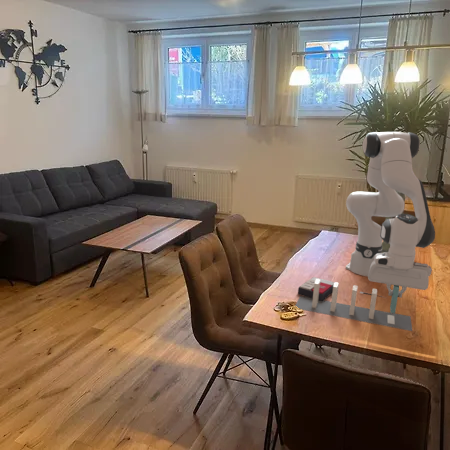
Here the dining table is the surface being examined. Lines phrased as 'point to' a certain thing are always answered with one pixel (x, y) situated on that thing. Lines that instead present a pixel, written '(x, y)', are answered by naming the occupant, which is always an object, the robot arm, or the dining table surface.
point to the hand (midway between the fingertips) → (394, 296)
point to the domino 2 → (334, 296)
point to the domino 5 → (394, 299)
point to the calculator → (324, 289)
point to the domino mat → (357, 313)
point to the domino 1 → (316, 293)
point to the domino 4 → (372, 303)
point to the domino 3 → (353, 300)
